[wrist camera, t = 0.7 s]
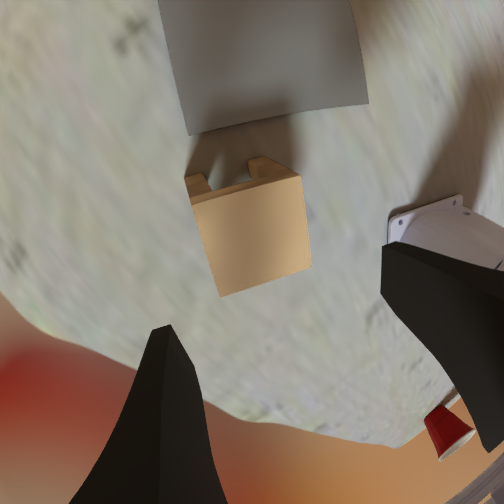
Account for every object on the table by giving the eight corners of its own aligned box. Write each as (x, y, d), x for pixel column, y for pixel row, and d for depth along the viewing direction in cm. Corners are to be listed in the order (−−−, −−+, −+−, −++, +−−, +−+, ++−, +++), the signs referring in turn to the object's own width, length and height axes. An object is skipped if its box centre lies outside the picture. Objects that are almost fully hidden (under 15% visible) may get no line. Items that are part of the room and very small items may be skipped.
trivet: (330, -44, 11) (335, -47, 10) (363, 103, 16) (369, 103, 16) (150, -36, 9) (150, -41, 9) (188, 135, 15) (188, 136, 14)
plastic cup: (447, 393, 48) (476, 429, 38) (452, 400, 53) (477, 431, 43) (409, 426, 50) (436, 464, 39) (419, 429, 55) (442, 461, 45)
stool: (263, 156, 16) (300, 175, 12) (276, 227, 19) (311, 266, 14) (184, 177, 16) (191, 205, 11) (205, 249, 18) (220, 297, 14)
